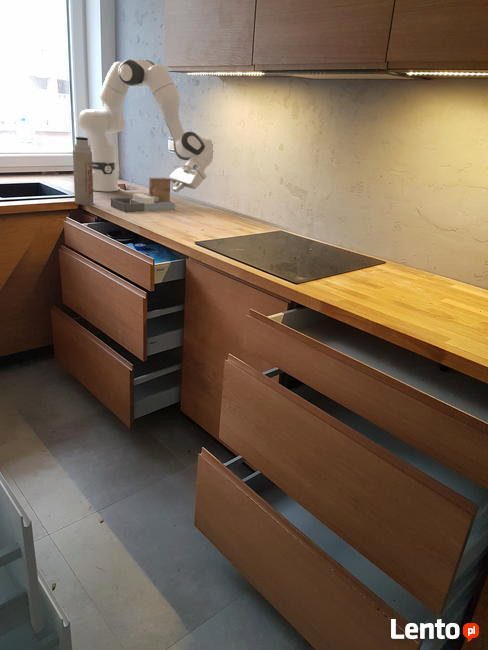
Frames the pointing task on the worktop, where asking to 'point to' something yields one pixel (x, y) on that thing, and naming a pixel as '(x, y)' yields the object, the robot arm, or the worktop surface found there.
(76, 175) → the thermos bottle
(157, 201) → the brown boxy piece
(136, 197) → the tile
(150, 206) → the board
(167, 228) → the worktop surface
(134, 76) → the robot arm
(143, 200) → the tile
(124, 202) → the tray
